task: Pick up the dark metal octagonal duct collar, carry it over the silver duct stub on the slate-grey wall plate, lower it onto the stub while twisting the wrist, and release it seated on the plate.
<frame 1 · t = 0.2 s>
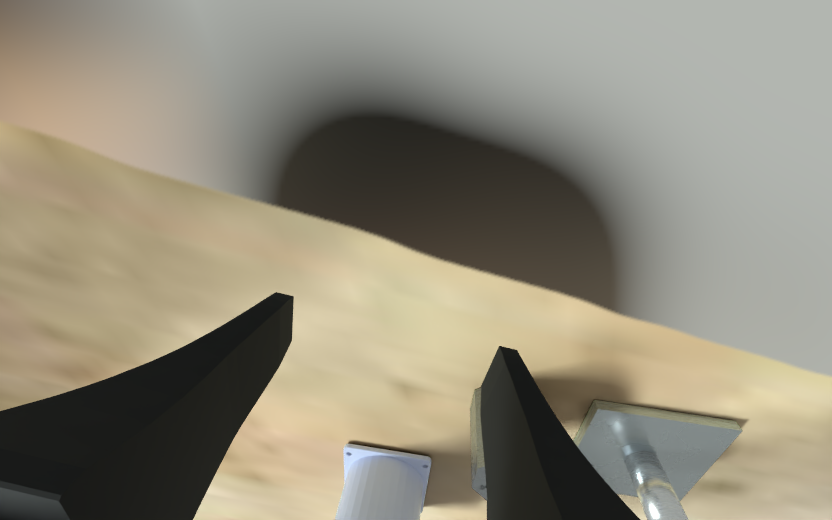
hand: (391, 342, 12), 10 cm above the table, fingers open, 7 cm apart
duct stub: (636, 450, 28), on the table
collar: (507, 404, 27), on the table
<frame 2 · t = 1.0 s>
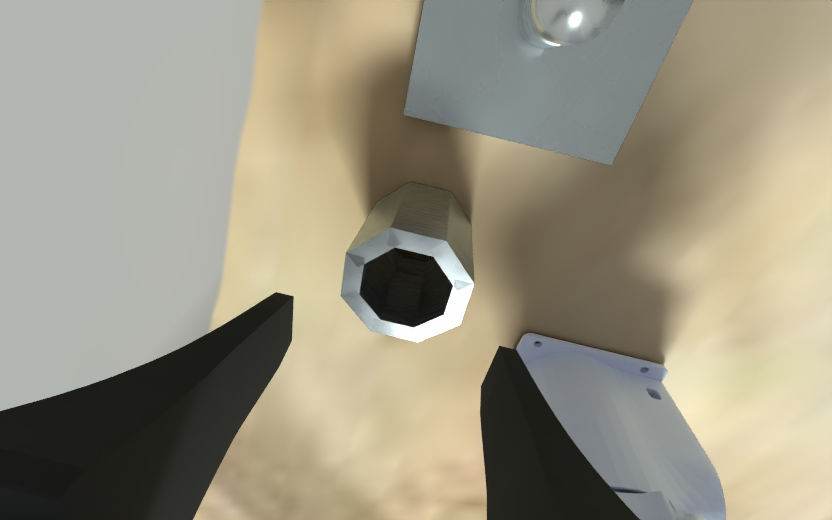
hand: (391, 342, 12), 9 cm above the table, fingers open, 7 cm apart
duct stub: (545, 15, 15), on the table
collar: (419, 231, 20), on the table
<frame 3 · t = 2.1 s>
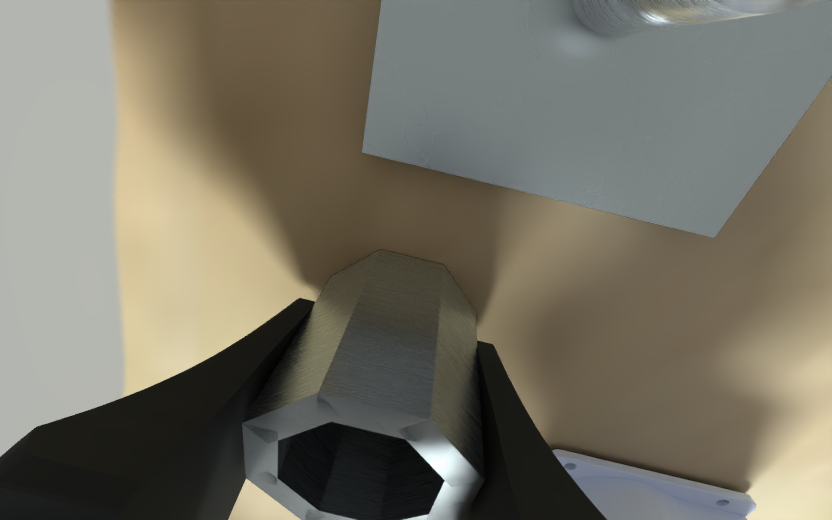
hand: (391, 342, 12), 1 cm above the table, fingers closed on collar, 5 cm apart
collar: (397, 317, 13), on the table, touching gripper
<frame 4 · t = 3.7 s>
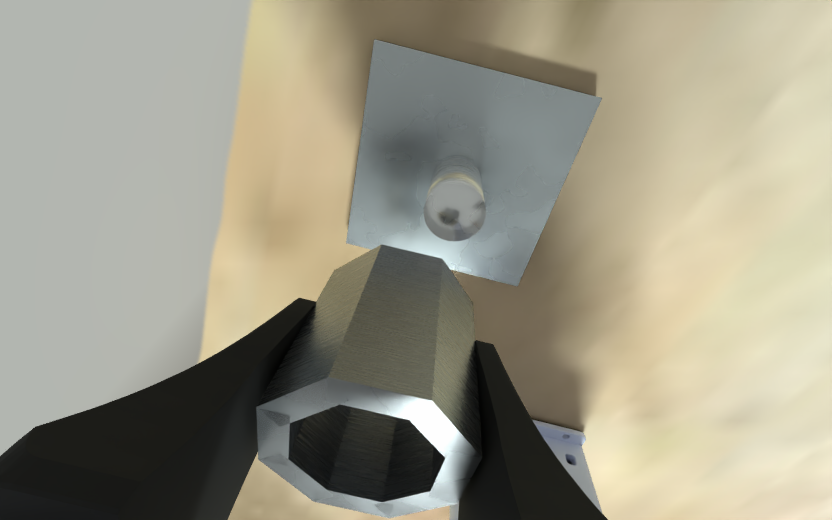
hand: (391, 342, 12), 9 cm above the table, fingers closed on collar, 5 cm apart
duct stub: (456, 176, 18), on the table
collar: (398, 309, 14), point 7 cm above the table, touching gripper
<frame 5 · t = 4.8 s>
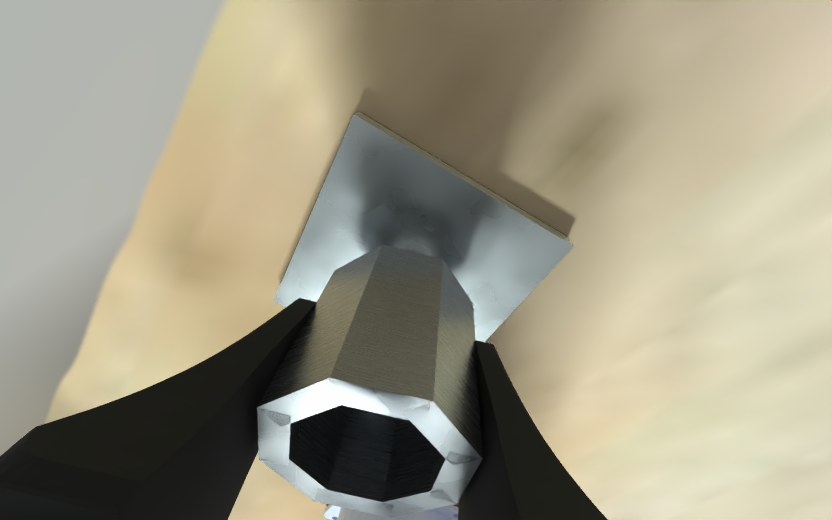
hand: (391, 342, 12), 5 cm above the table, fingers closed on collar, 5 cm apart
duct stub: (410, 267, 17), on the table
collar: (398, 309, 14), point 3 cm above the table, touching gripper
when the fingers open (4 cm above the table, at t = 5.6 s): collar stays where it is, resting on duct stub.
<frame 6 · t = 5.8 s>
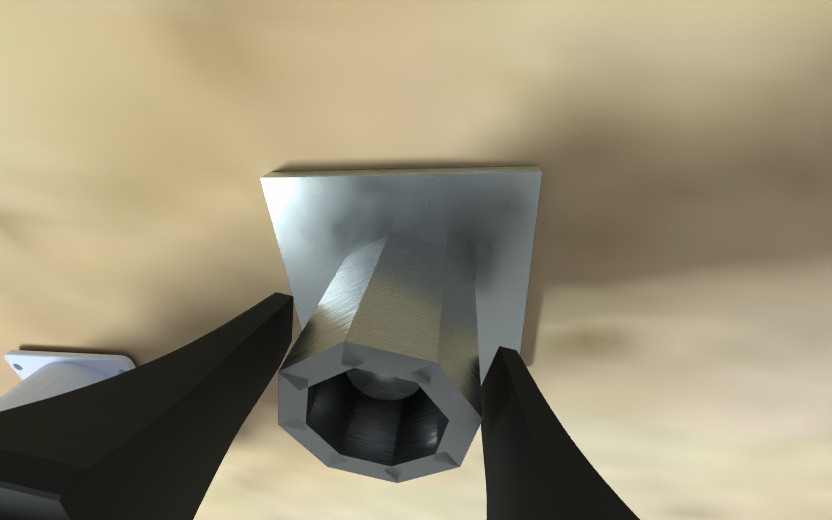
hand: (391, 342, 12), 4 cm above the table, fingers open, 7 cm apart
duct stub: (406, 282, 15), on the table
collar: (405, 295, 15), point 1 cm above the table, touching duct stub
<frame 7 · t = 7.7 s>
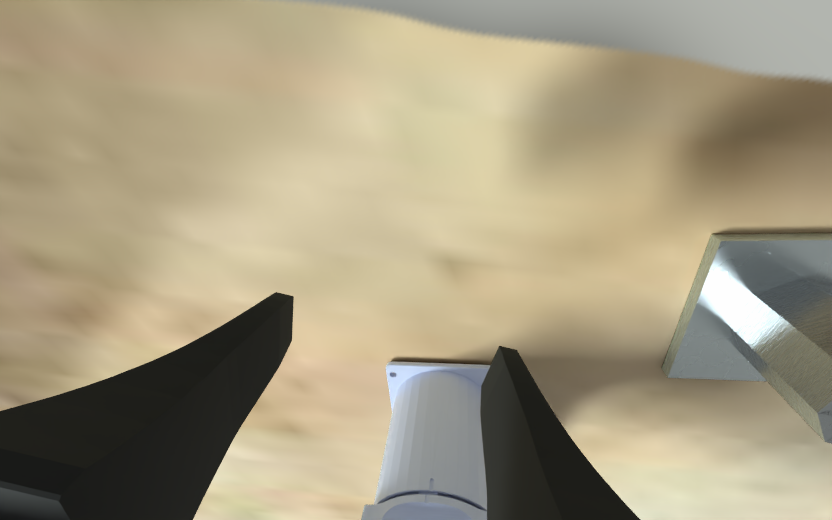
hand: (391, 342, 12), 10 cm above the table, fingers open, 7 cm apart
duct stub: (776, 310, 21), on the table
collar: (786, 320, 20), point 1 cm above the table, touching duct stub
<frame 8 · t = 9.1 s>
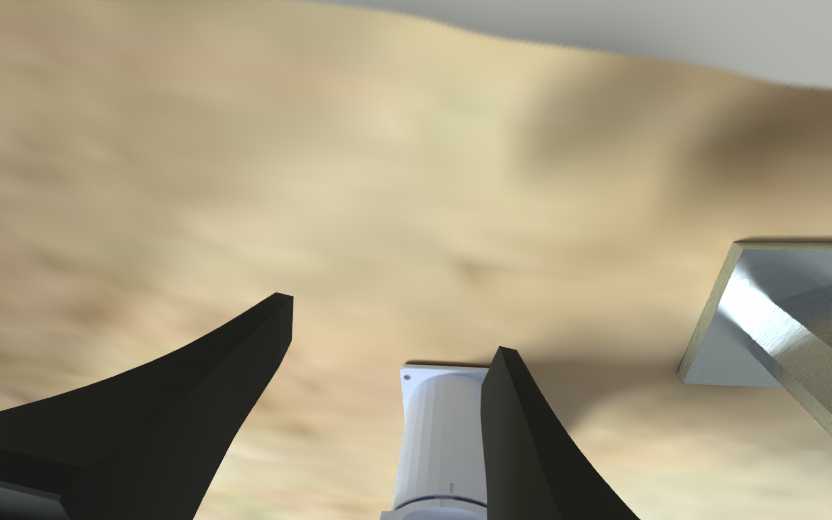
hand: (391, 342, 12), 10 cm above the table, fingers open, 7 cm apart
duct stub: (793, 318, 21), on the table
collar: (804, 328, 20), point 1 cm above the table, touching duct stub
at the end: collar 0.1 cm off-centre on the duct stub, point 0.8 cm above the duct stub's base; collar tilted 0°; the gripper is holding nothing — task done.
